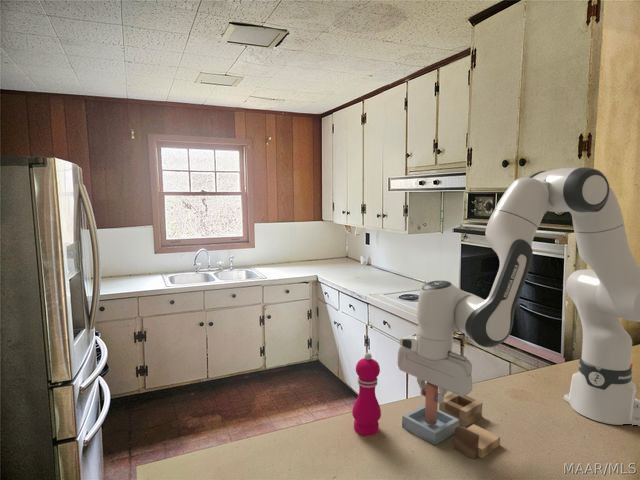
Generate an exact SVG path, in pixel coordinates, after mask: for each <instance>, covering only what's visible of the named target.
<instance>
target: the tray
mask: <svg viewBox="0 0 640 480" xmlns="http://www.w3.org/2000/svg"><path fill="white" fill-rule="evenodd" d="M401 420H402V421H401V427H402V428H403V429H405V430H406V431H408V432H409V433H410V432H411V433H412V434H414V435H416V436H418V437H419V438H421V439H423V440H425V441H426V442H427V443H430V444H432V445H434V446H436V445H438V444H439V443H441V442H442V441H444V440H445V439H447V437H448V438H449V437H451V436H453V435H454V433H455V428H456V427H458V426H460V424H459V419H457V418H455V417H453V416H451V415H449V414H447V413H444V412H442V411H440V410H439V408H437V423H436V424H434V425H430V424H427V423H426V422H425V404H424V405H421V406H419V407H418V408H415V409H414V410H411V411H409V412H407V413H406V414H403V415H402V419H401ZM452 434H453V435H452ZM450 435H451V436H450Z"/></svg>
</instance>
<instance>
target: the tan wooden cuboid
mask: <svg viewBox="0 0 640 480" xmlns="http://www.w3.org/2000/svg"><path fill="white" fill-rule="evenodd" d="M466 429H467V430H470V431H472V432H474V433H476V434H478V435H479V444H478V456H477V457H479V458H480V459H483V458H484V457H485V456H487V455H488V454H489V453H491V452H492V451H494V450H496V449H497V448H498V447H499V446H501V436H500V435H497V434H495V433H494V432H491V431H489V430H487V429H485V428H482V427H481V426H479V425H476V424H474V423H473V424H472V425H469V426H468V427H466ZM482 457H483V458H482Z"/></svg>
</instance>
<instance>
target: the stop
mask: <svg viewBox="0 0 640 480" xmlns="http://www.w3.org/2000/svg"><path fill="white" fill-rule="evenodd" d="M453 435H454V437H453V449H454V450H456V451H457V452H460V454H462V455H464V456H467V457H469V458H470V459H475V458H477V457H479V456H478V444H479V435H478V434H476V433H474V432H472V431H470V430H467V428H466V427H464V426H462V425H459V426H458V427H456V428H455V433H454V434H453Z"/></svg>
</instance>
